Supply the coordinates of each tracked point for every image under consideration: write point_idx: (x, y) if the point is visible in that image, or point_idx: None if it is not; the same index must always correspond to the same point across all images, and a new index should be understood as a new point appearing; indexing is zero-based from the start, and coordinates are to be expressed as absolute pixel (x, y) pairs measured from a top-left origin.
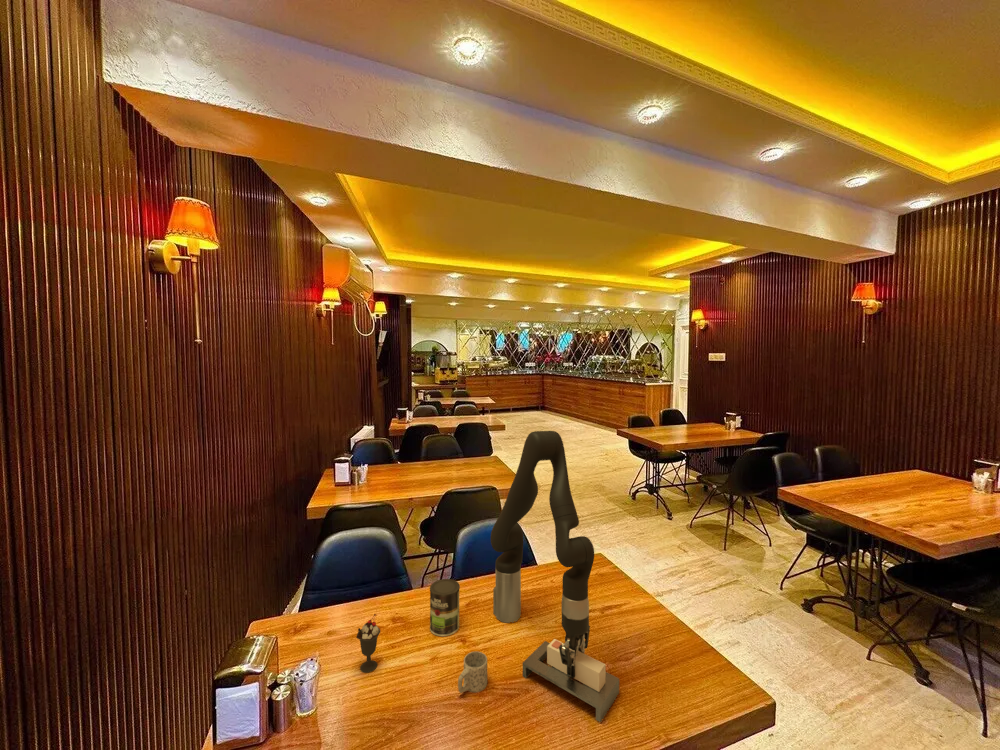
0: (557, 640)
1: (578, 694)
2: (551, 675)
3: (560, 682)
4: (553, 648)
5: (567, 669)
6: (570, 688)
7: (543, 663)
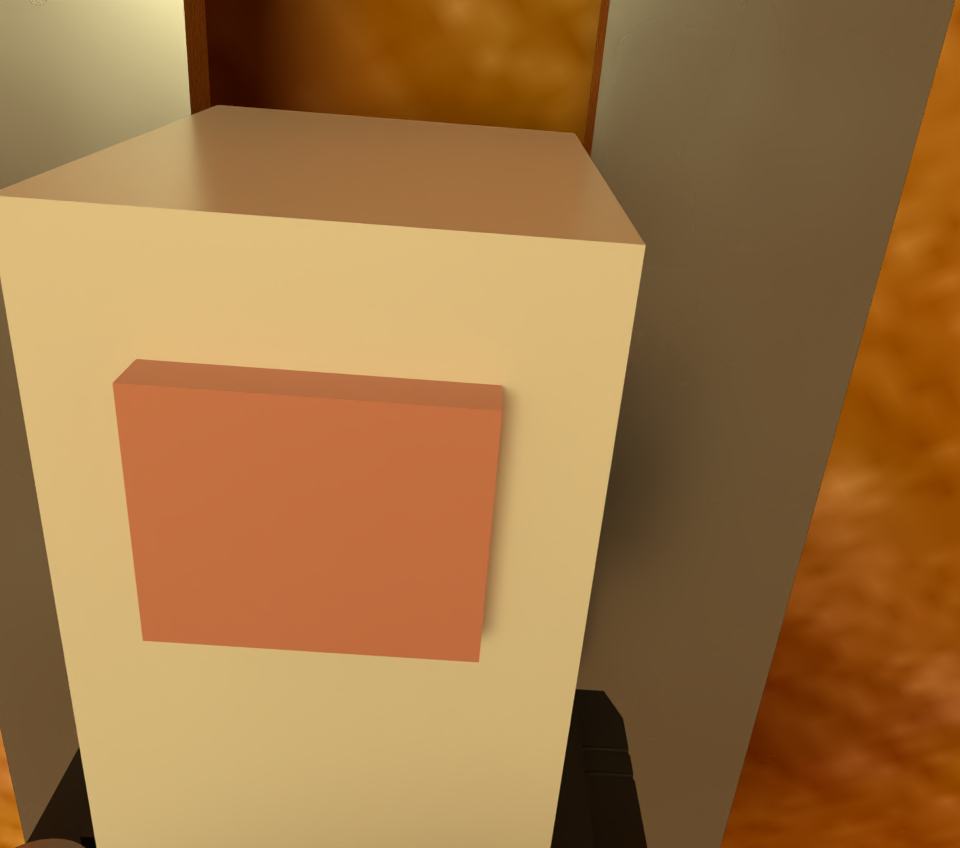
0: (603, 409)
1: (30, 829)
2: (8, 353)
3: (8, 554)
4: (76, 479)
5: (73, 769)
6: (28, 720)
7: (170, 9)
